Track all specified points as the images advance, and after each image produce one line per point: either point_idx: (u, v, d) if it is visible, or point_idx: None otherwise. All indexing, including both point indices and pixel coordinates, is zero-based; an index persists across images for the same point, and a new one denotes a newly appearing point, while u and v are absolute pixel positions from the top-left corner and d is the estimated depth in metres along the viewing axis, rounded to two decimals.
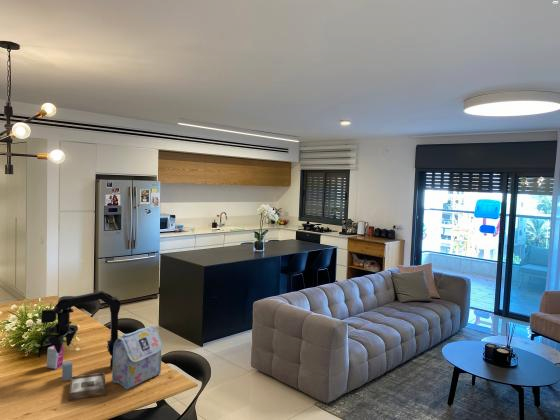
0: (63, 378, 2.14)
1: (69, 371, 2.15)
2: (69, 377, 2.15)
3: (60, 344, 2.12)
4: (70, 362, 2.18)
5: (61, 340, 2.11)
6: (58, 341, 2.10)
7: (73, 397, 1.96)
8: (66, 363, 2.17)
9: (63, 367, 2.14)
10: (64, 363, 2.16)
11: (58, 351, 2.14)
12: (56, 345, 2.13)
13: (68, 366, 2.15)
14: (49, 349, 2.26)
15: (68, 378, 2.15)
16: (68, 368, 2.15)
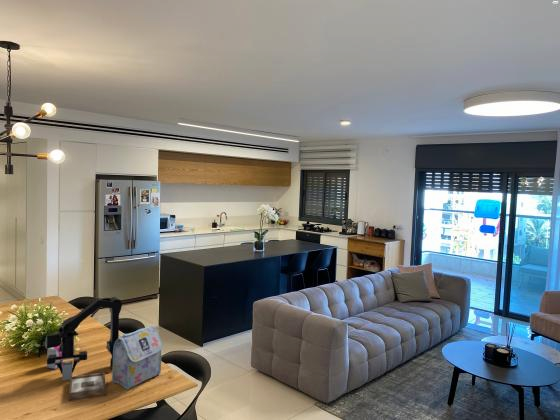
0: (63, 378, 2.14)
1: (69, 371, 2.15)
2: (69, 377, 2.15)
3: (58, 366, 2.13)
4: (70, 362, 2.18)
5: (51, 362, 2.11)
6: (47, 362, 2.10)
7: (73, 397, 1.96)
8: (66, 363, 2.17)
9: (63, 367, 2.14)
10: (64, 363, 2.16)
11: (61, 372, 2.15)
12: None
13: (68, 366, 2.15)
14: (49, 349, 2.26)
15: (68, 378, 2.15)
16: (68, 368, 2.15)
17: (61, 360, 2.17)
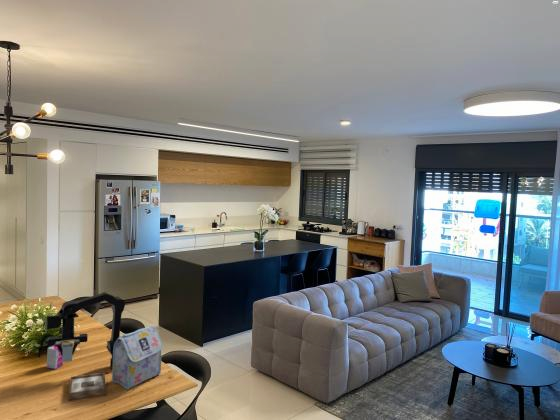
0: (63, 360, 2.14)
1: (69, 353, 2.15)
2: (69, 359, 2.15)
3: (58, 347, 2.12)
4: (70, 344, 2.17)
5: (51, 344, 2.10)
6: (47, 344, 2.10)
7: (73, 397, 1.96)
8: (66, 345, 2.16)
9: (63, 349, 2.13)
10: (64, 345, 2.15)
11: (61, 354, 2.15)
12: None
13: (68, 348, 2.14)
14: (49, 349, 2.26)
15: (68, 360, 2.15)
16: (69, 350, 2.14)
17: (61, 342, 2.16)
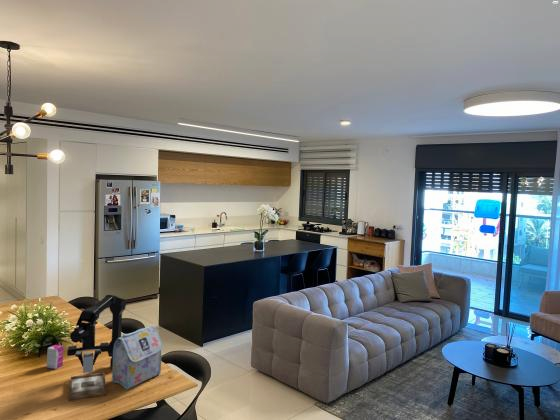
0: (84, 370, 2.03)
1: (90, 363, 2.04)
2: (90, 369, 2.04)
3: (78, 357, 2.02)
4: (91, 354, 2.07)
5: (71, 354, 2.00)
6: (67, 354, 1.99)
7: (73, 397, 1.96)
8: (87, 354, 2.06)
9: (84, 359, 2.03)
10: (84, 355, 2.05)
11: None
12: None
13: (89, 358, 2.04)
14: (49, 349, 2.26)
15: (89, 370, 2.04)
16: (89, 360, 2.04)
17: (81, 352, 2.06)
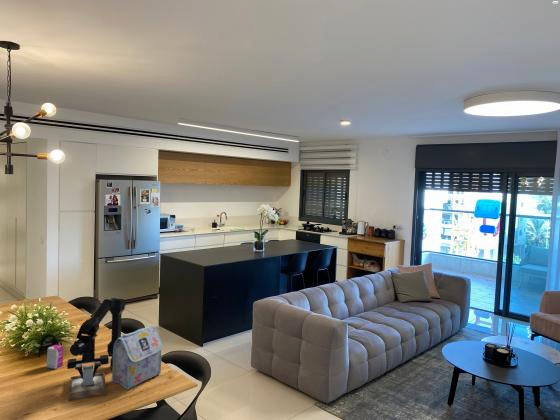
0: (84, 383, 2.04)
1: (90, 376, 2.05)
2: (90, 382, 2.05)
3: (78, 370, 2.02)
4: (91, 366, 2.07)
5: (71, 367, 2.00)
6: (67, 367, 2.00)
7: (73, 397, 1.96)
8: (87, 367, 2.06)
9: (84, 372, 2.03)
10: (84, 368, 2.05)
11: None
12: None
13: (89, 370, 2.04)
14: (49, 349, 2.26)
15: (89, 383, 2.05)
16: (89, 372, 2.04)
17: (81, 364, 2.06)
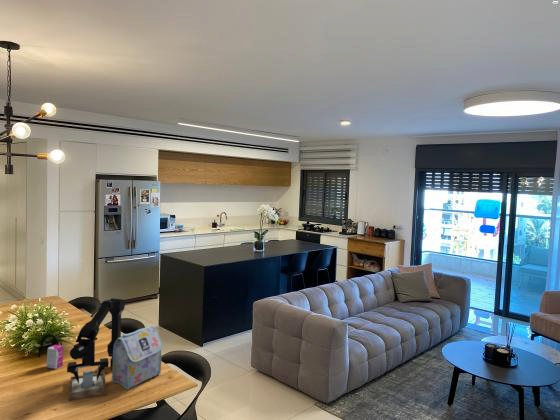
0: None
1: (90, 381, 2.05)
2: None
3: None
4: (91, 371, 2.07)
5: (71, 370, 2.00)
6: (67, 370, 2.00)
7: (73, 397, 1.96)
8: (87, 372, 2.06)
9: (84, 377, 2.03)
10: (84, 373, 2.05)
11: (77, 381, 2.04)
12: None
13: (89, 376, 2.04)
14: (49, 349, 2.26)
15: None
16: (89, 377, 2.04)
17: (77, 368, 2.05)
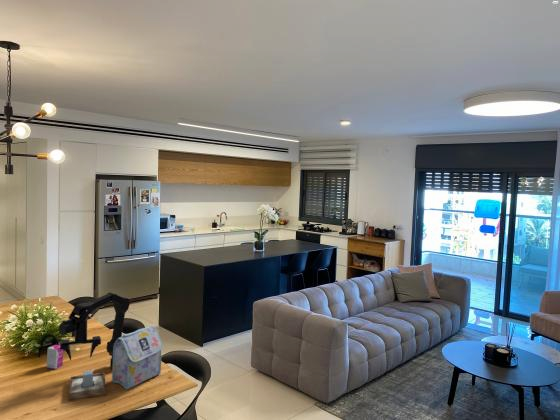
0: None
1: (90, 381, 2.05)
2: None
3: (66, 351, 2.07)
4: (91, 371, 2.07)
5: (64, 347, 2.05)
6: (60, 347, 2.05)
7: (73, 397, 1.96)
8: (87, 372, 2.06)
9: (84, 377, 2.03)
10: (84, 373, 2.05)
11: None
12: None
13: (89, 376, 2.04)
14: (49, 349, 2.26)
15: None
16: (89, 377, 2.04)
17: (69, 346, 2.11)
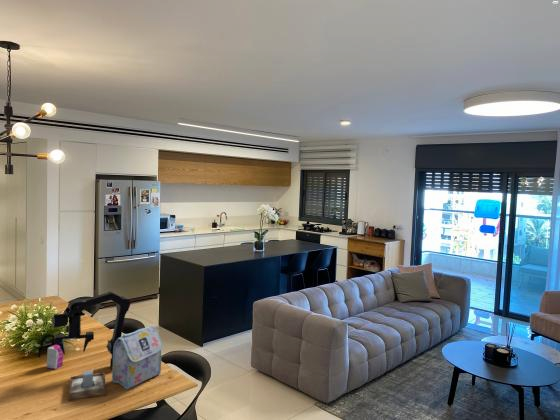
0: None
1: (90, 381, 2.05)
2: None
3: (60, 346, 2.13)
4: (91, 371, 2.07)
5: (58, 342, 2.11)
6: (54, 342, 2.11)
7: (73, 397, 1.96)
8: (87, 372, 2.06)
9: (84, 377, 2.03)
10: (84, 373, 2.05)
11: (63, 352, 2.15)
12: None
13: (89, 376, 2.04)
14: (49, 349, 2.26)
15: None
16: (89, 377, 2.04)
17: (63, 340, 2.16)
